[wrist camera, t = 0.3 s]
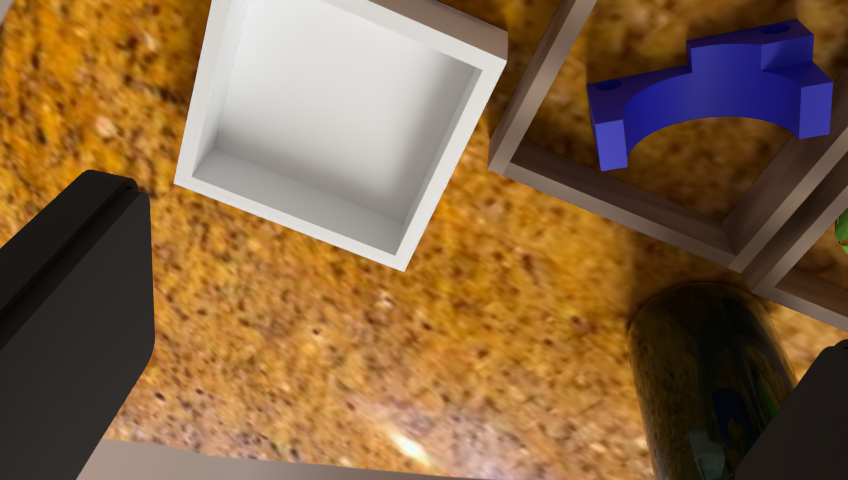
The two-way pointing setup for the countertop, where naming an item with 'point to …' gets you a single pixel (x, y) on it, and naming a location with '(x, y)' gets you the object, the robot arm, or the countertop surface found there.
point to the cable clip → (717, 89)
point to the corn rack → (796, 236)
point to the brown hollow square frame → (640, 209)
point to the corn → (842, 230)
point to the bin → (338, 114)
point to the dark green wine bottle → (706, 378)
